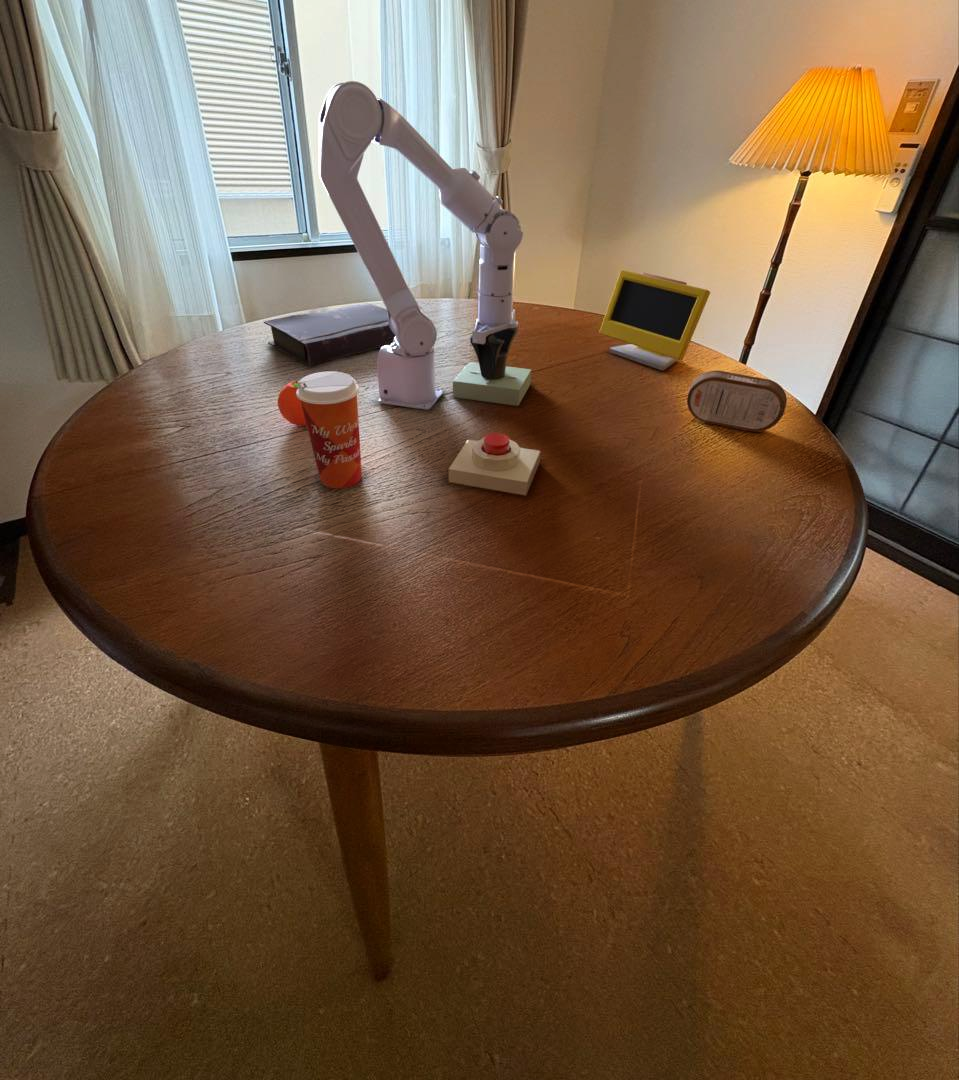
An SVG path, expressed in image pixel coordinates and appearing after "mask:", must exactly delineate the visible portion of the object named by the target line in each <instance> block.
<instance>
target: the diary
mask: <svg viewBox="0 0 959 1080" xmlns="http://www.w3.org/2000/svg"><path fill="white" fill-rule="evenodd" d="M263 324H265V325H267V326H269V327H270V329H271V334H272V339H273V341H269V342H267V344H268V345H269V346H271V347H273V348H275V349H277V350H278V351H281V352H283V353H284V354H285V355H288V356H289V357H291V358H293V359H294V360H297V361H298V362H300V363H302V364H304V365H305V366H308V367H311V366H315V365H318V364H322V363H326V362H329V361H332V360H335V359H338V358H339V359H340V358H343V357H348V356H352V355H356V354H361V353H366V352H367V351H368V352H369V351H373V350H375V349H378V348H382V347H383V346H385V345H389V346H390V345H391V344H392V342H393V340H394V338H395V334H394V333H393V332H392V331H391V329H390V327H389V323H388V312H387V309H386V308H384V307H381V306H378V305H376V304H372V303H369V302H363V303H358V304H354V305H353V304H352V305H350V306H344V307H340V308H334V309H330V310H325V311H320V312H313V313H311V312H310V313H303V314H294V315H288V316H284V317H279V318H275V319H270V320H264V321H263Z"/></svg>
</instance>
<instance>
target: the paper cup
mask: <svg viewBox="0 0 959 1080" xmlns="http://www.w3.org/2000/svg"><path fill="white" fill-rule="evenodd" d="M298 381H299V383H298V389H297V392H296V395H297V397H298V398H299V399H300V401H301V405H302V409H303V413H304V417H305V421H306V429H307V433H308V437H309V441H310V445H311V448H312V452H313V457H314V461H315V464H316V468H317V472H318V475H319V479H320V482H321V483H322V485H323V486H325V487H326V488H330V489H346V488H350V487H353V486H355V485H356V484H358V483H359V482H360V481H361V478H362V455H361V454H362V453H361V440H360V439H361V438H360V422H359V407H358V405H359V404H358V394H359V392H360V389H361V387H360V385H359V384H358V382H357V381H356V379H354V378H353V377H352V376H351V375H350V374H348V373H346V372H341V371H333V370H330V371H329V370H328V371H319V372H314V373H310V374H307V375H306V376H303V377H302V378H301V379H300V380H298Z"/></svg>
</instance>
